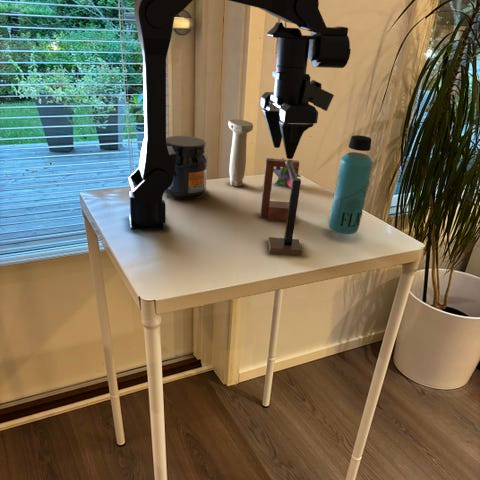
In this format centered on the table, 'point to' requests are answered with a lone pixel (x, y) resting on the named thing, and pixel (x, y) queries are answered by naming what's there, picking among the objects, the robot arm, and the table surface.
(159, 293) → the table surface
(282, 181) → the geometric puzzle
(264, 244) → the table surface
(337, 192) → the beverage bottle
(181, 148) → the supplement container
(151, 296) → the table surface
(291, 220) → the rack
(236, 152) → the handle
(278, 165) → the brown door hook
